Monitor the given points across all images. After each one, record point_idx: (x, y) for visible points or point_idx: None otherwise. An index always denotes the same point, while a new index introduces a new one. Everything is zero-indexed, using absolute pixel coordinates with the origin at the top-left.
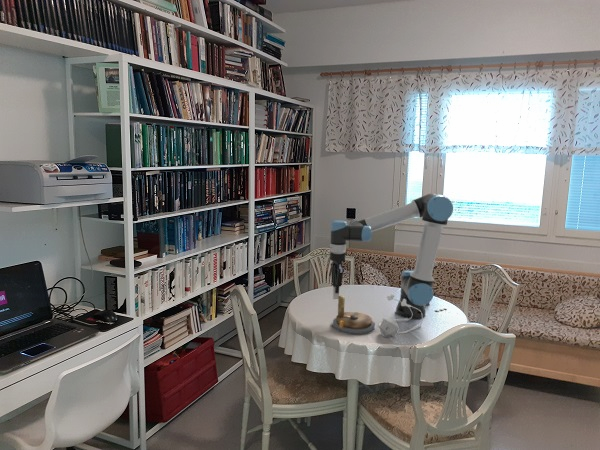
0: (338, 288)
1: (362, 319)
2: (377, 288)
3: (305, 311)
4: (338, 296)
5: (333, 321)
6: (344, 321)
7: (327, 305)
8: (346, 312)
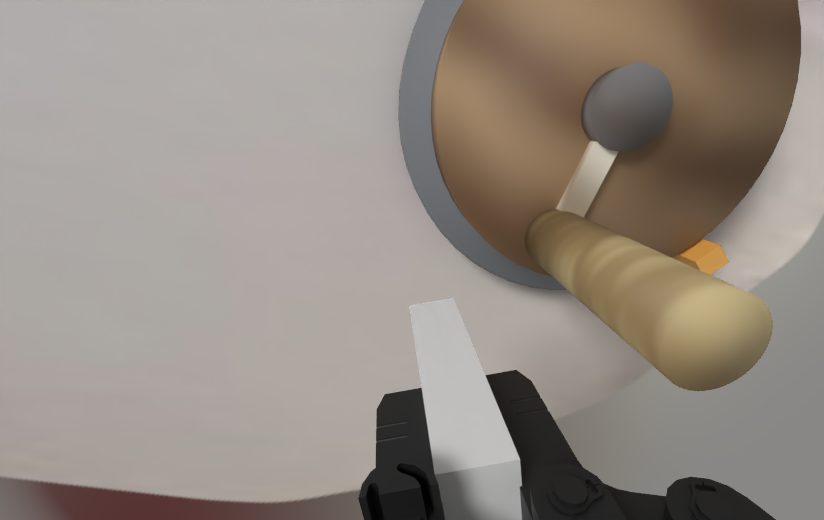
0: (567, 452)
1: (675, 18)
2: None
3: (238, 427)
4: (462, 324)
5: (541, 285)
6: (679, 226)
7: (35, 252)
8: (447, 156)
